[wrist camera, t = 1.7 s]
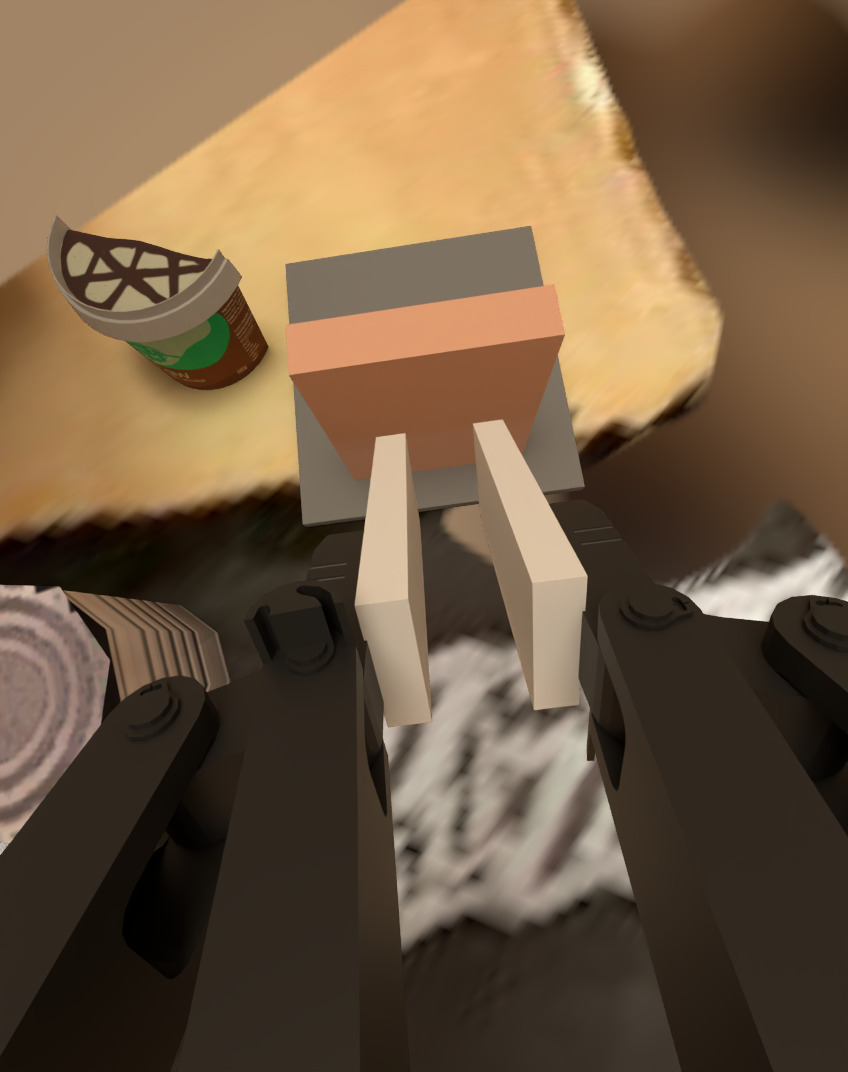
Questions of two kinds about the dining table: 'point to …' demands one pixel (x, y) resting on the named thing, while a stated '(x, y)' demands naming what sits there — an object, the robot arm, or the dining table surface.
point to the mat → (412, 282)
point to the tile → (428, 374)
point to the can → (80, 677)
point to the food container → (160, 304)
